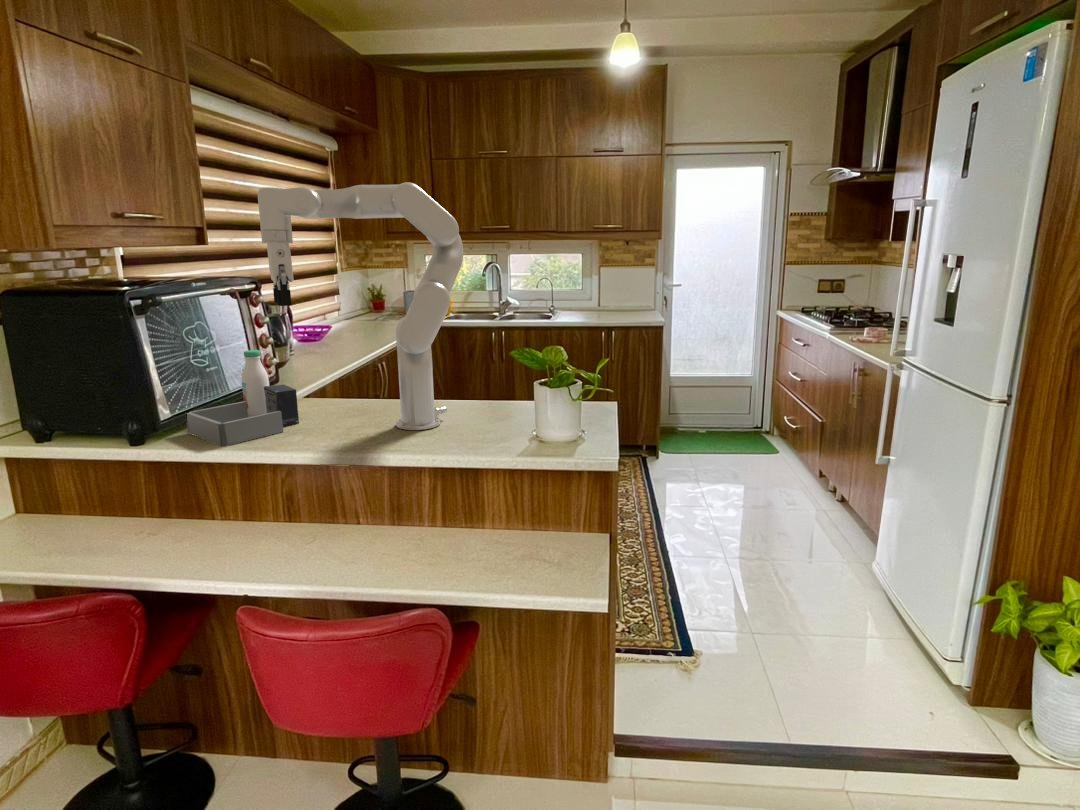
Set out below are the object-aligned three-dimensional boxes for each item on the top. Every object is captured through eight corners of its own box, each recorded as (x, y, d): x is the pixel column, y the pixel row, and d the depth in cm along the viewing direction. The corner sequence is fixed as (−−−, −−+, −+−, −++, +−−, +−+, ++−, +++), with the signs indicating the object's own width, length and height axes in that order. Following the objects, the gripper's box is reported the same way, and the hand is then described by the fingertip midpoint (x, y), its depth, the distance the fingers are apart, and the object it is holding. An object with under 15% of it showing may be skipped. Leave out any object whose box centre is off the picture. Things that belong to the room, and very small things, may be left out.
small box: (300, 423, 196) (297, 388, 194) (278, 427, 192) (274, 392, 190) (288, 416, 204) (284, 383, 202) (266, 420, 200) (262, 386, 198)
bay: (246, 420, 200) (244, 401, 198) (283, 432, 187) (281, 411, 186) (187, 433, 187) (184, 412, 185) (222, 446, 174) (220, 424, 173)
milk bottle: (277, 411, 210) (270, 348, 205) (264, 418, 203) (257, 352, 198) (253, 411, 211) (246, 348, 206) (240, 417, 203) (232, 352, 199)
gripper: (296, 237, 167) (302, 306, 171) (288, 237, 182) (293, 301, 186) (264, 237, 164) (270, 307, 168) (258, 237, 179) (264, 302, 183)
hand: (282, 304), depth 177 cm, fingers open, 9 cm apart
